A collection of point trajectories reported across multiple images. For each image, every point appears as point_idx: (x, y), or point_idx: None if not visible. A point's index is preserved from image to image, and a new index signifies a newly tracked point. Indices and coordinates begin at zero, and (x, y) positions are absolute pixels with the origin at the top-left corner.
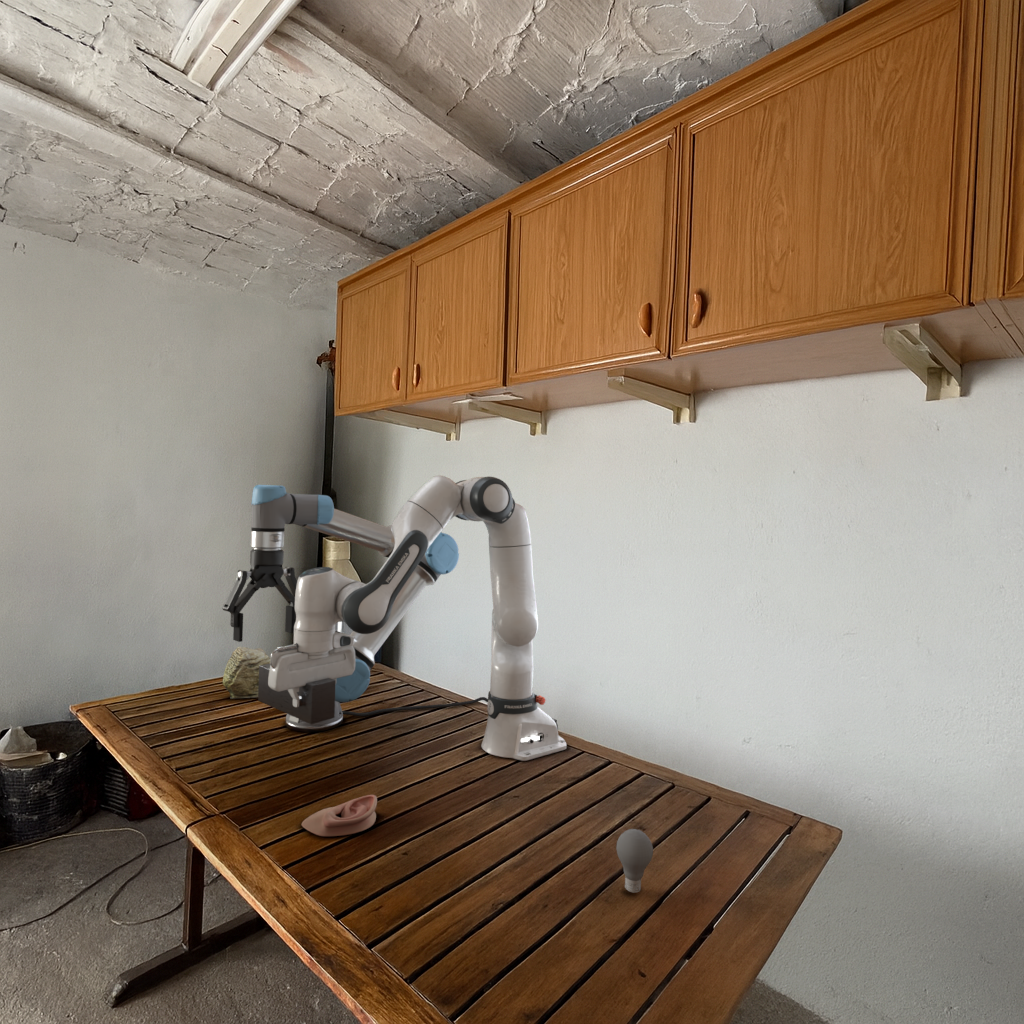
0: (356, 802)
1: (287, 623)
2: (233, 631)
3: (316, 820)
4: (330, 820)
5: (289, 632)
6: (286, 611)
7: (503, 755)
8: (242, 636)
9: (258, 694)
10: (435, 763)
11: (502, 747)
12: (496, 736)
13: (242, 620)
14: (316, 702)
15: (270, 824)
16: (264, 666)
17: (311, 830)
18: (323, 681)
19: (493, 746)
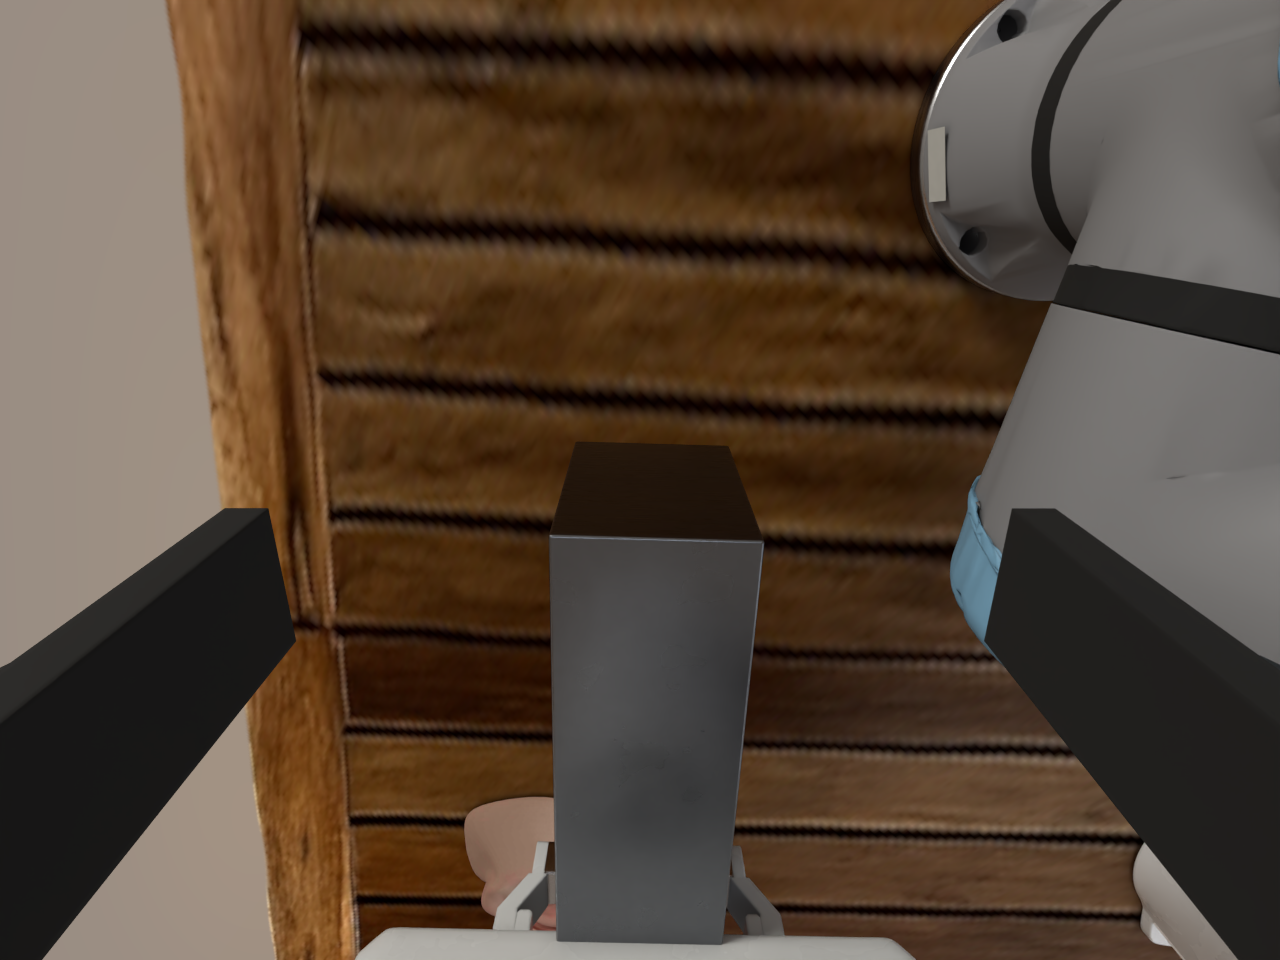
0: None
1: (1071, 624)
2: (149, 564)
3: (486, 855)
4: (489, 909)
5: (994, 604)
6: (1244, 730)
7: (1139, 892)
8: (265, 678)
9: (571, 457)
10: (982, 788)
11: (1159, 907)
12: (1189, 916)
13: (100, 873)
14: None
15: (415, 757)
16: (566, 587)
17: (467, 852)
18: None
19: (1159, 881)
